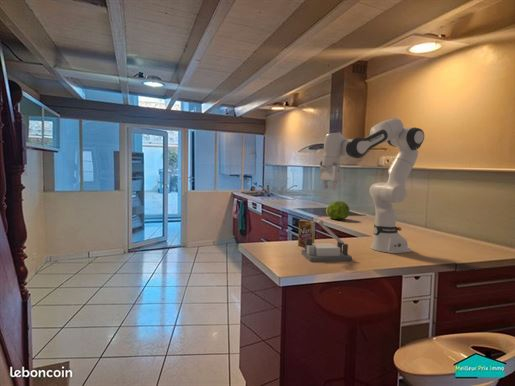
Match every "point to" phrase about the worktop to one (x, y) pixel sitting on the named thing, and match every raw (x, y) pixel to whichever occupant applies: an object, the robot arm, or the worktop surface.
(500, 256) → the worktop surface
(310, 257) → the heatsink board
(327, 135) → the robot arm
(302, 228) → the candy box
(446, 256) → the worktop surface
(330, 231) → the strap
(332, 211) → the lettuce
